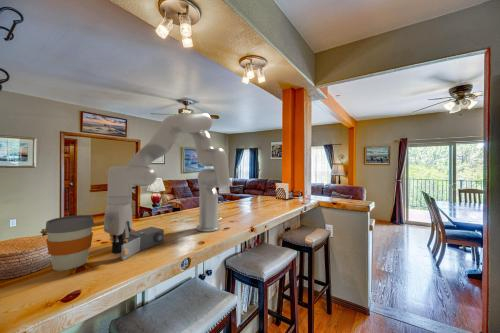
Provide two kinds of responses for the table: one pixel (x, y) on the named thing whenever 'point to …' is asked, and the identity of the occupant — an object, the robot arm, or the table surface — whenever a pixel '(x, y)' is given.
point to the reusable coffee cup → (69, 240)
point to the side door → (130, 248)
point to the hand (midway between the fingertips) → (117, 252)
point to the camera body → (148, 237)
